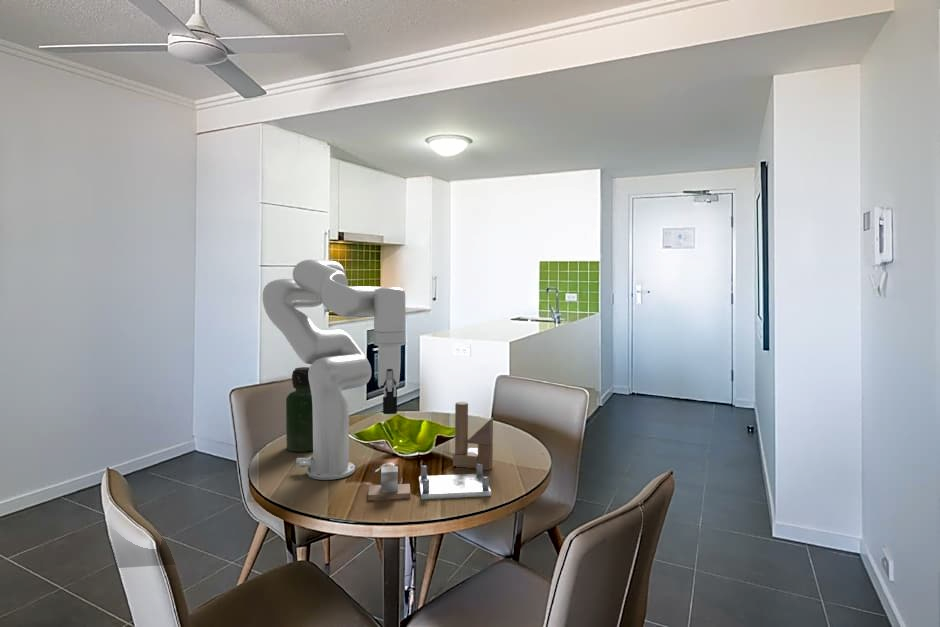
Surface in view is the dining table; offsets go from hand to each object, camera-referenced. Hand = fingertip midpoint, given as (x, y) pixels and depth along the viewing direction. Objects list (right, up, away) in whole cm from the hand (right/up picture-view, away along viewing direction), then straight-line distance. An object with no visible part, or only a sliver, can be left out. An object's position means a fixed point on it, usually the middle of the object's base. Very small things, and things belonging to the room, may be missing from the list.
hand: (390, 408), depth 128 cm
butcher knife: (+20, -20, +29) cm, 41 cm away
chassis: (+15, -21, +6) cm, 26 cm away
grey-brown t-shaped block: (0, -21, +1) cm, 21 cm away
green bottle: (-32, -19, +37) cm, 53 cm away
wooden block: (+20, -20, +21) cm, 36 cm away
